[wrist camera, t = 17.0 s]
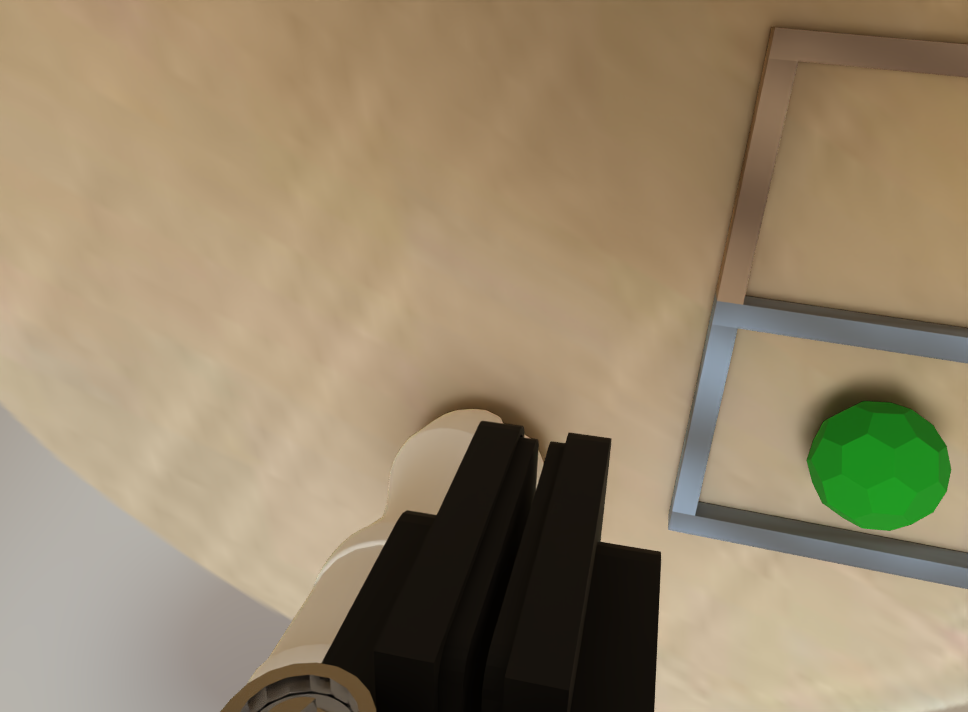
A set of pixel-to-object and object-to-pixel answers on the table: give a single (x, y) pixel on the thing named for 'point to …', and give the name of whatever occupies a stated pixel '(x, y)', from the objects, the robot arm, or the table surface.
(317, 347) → the table surface
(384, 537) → the water bottle
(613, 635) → the robot arm
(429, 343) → the table surface
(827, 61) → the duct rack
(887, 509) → the polyhedron
